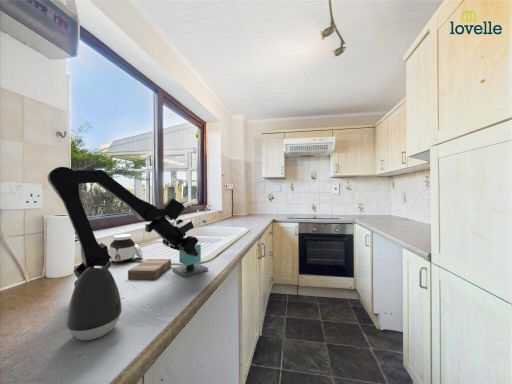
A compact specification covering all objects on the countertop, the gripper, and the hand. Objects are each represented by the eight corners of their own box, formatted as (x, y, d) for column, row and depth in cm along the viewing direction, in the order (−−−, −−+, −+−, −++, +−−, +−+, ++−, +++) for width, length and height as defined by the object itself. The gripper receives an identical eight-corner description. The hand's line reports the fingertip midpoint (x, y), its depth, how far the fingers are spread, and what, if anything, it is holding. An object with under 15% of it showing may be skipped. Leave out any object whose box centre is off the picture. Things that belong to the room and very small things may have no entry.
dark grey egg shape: (130, 319, 57) (130, 258, 57) (104, 347, 47) (104, 273, 47) (89, 319, 57) (88, 259, 57) (53, 349, 46) (52, 274, 46)
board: (154, 279, 83) (154, 270, 83) (128, 278, 83) (127, 270, 83) (170, 266, 97) (170, 259, 97) (148, 265, 97) (147, 258, 97)
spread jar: (106, 262, 102) (106, 236, 102) (127, 255, 113) (127, 232, 113) (127, 265, 99) (127, 238, 99) (147, 257, 110) (147, 233, 110)
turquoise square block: (187, 265, 87) (187, 247, 87) (179, 262, 91) (179, 244, 91) (200, 262, 91) (200, 244, 91) (192, 258, 96) (192, 242, 96)
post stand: (184, 277, 84) (184, 258, 84) (172, 270, 91) (172, 253, 91) (207, 270, 91) (207, 253, 91) (194, 265, 98) (194, 248, 98)
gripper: (193, 215, 82) (218, 240, 90) (169, 211, 95) (193, 234, 103) (172, 240, 76) (201, 265, 84) (150, 233, 89) (177, 255, 97)
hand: (193, 253), depth 92 cm, fingers closed on turquoise square block, 6 cm apart
